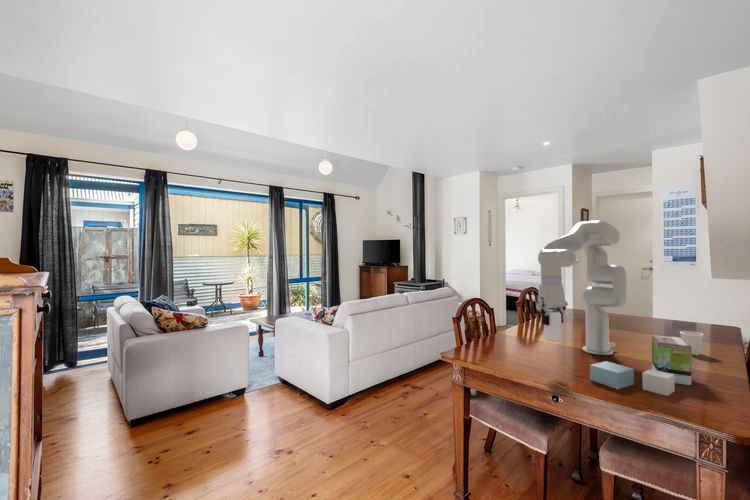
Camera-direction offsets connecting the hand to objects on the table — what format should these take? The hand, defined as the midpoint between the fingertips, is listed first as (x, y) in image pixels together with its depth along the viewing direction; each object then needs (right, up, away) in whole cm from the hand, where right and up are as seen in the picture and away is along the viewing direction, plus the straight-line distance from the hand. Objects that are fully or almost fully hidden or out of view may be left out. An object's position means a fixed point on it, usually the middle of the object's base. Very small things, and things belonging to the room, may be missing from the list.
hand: (552, 323), depth 141 cm
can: (0, -7, 0) cm, 7 cm away
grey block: (+27, -19, -20) cm, 39 cm away
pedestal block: (+16, -20, -12) cm, 28 cm away
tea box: (+42, -20, -8) cm, 47 cm away
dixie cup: (+78, -19, +22) cm, 83 cm away
